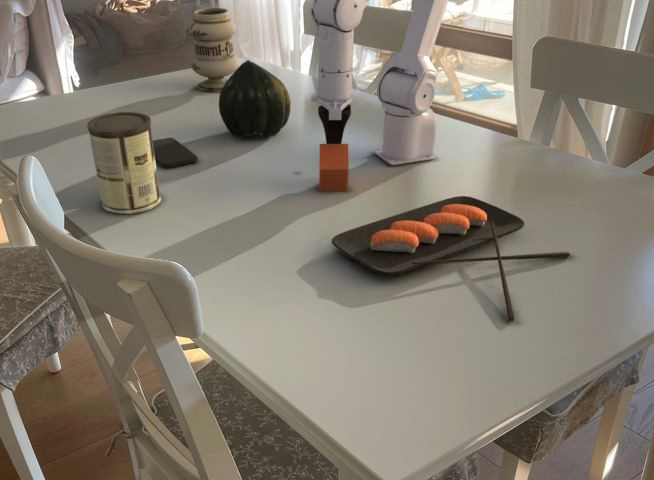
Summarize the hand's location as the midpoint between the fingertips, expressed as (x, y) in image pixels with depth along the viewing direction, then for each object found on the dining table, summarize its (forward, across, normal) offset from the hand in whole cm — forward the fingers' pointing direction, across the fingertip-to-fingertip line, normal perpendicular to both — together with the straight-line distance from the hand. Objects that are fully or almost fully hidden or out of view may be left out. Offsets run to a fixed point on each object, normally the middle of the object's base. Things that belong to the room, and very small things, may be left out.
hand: (333, 148), depth 127 cm
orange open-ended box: (+5, +2, 0) cm, 5 cm away
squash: (+6, -26, -17) cm, 32 cm away
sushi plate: (+6, +32, +19) cm, 37 cm away
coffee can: (+6, +10, -35) cm, 37 cm away
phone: (+6, -13, -33) cm, 36 cm away
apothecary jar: (+6, -63, -29) cm, 70 cm away
